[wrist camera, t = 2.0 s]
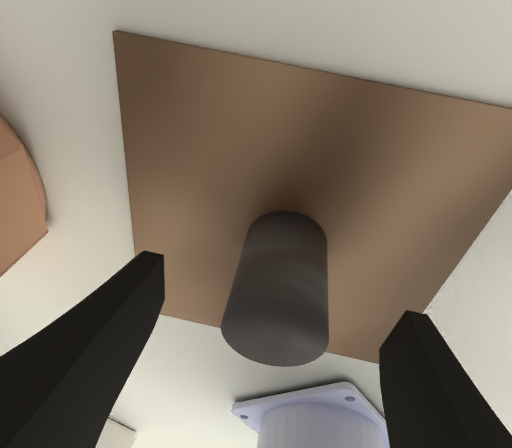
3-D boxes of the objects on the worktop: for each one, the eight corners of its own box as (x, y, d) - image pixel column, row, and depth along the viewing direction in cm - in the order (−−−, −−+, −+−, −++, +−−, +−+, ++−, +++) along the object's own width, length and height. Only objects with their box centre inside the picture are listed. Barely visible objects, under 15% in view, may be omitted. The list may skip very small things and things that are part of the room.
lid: (545, 109, 9) (702, 203, 5) (382, 350, 17) (400, 462, 13) (126, 27, 10) (-1, 61, 6) (147, 297, 17) (96, 390, 13)
